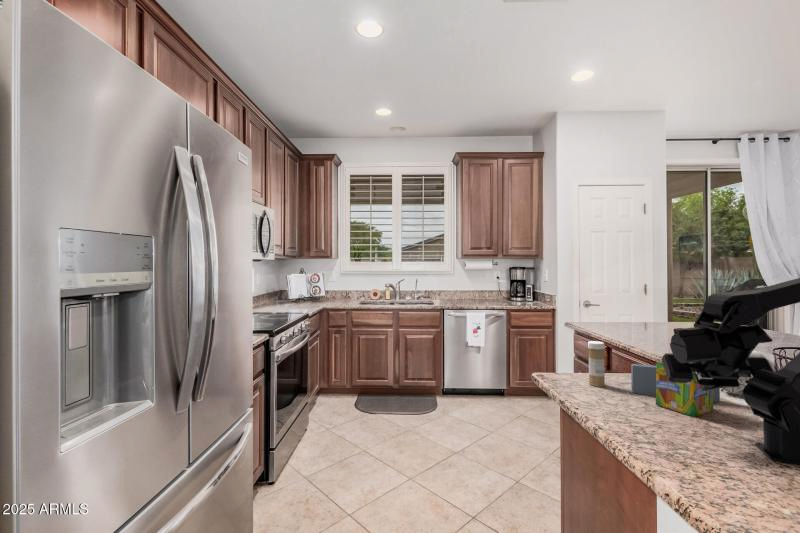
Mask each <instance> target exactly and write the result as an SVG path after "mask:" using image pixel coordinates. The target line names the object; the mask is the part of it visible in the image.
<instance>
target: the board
mask: <svg viewBox="0 0 800 533" xmlns="http://www.w3.org/2000/svg"><path fill="white" fill-rule="evenodd" d="M630 367H631V368H630V370H631V371H630V372H631V373H630V374H631V375H630V376H631V377H630V378H631V380H630V381H631V382H630V383H631V392H632V394H636V393H637V394H638V395H648V396H655V397H656V365H652V364H640V363H639V364H638V363H631V365H630ZM719 402H720V403H721V389H714V401H713V403H719Z"/></svg>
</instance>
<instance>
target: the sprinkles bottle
mask: <svg viewBox="0 0 800 533" xmlns="http://www.w3.org/2000/svg"><path fill="white" fill-rule="evenodd" d="M587 348H588V376H589V377H588V384H589V385H590V386H593V387H601V388H602V387H605V386H606V384H605V375H606V374H605V373H606V371H605V348H606V347H605V342H603V341H599V340H590V341H589V340H588V342H587Z"/></svg>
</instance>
